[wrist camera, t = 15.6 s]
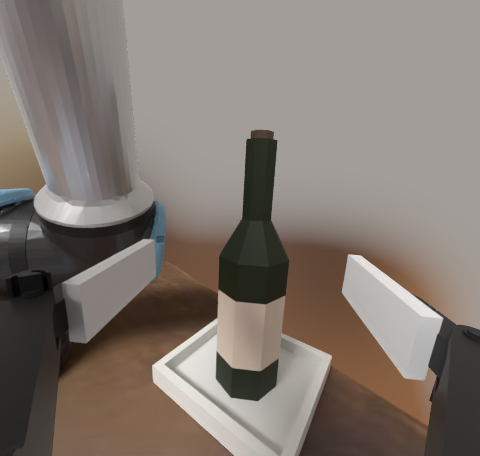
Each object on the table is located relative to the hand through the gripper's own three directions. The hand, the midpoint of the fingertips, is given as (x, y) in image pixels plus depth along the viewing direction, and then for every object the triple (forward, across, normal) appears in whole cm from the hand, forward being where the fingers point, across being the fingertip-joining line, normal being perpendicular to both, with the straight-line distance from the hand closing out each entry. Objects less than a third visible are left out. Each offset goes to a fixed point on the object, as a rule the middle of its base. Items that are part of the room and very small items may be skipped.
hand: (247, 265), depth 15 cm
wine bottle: (+10, +1, -20) cm, 22 cm away
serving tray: (+11, 0, -20) cm, 23 cm away
